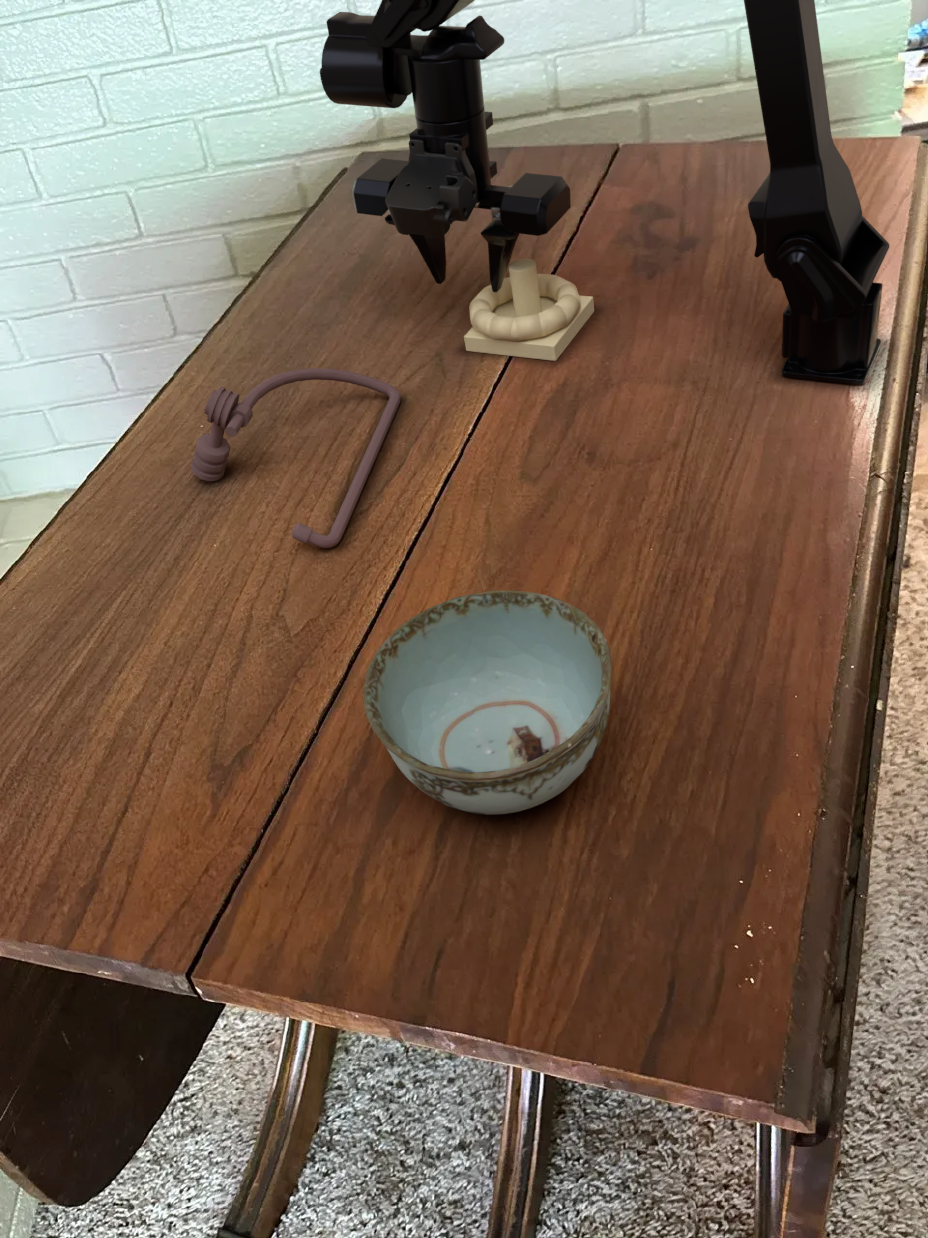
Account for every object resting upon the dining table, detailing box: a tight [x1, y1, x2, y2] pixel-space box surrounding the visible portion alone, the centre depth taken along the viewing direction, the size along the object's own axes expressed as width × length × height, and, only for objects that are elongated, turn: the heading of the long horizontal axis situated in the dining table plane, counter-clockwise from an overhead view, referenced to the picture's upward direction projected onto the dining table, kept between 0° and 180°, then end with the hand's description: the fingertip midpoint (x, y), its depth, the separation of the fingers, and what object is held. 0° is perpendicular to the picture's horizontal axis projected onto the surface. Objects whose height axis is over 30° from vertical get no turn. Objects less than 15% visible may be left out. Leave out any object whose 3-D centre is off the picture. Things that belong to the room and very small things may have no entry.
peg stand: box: [463, 258, 595, 362], centre depth 97 cm, size 9×9×6 cm
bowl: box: [362, 590, 613, 815], centre depth 60 cm, size 14×13×8 cm
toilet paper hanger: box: [190, 367, 402, 549], centre depth 88 cm, size 22×8×14 cm
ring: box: [468, 273, 581, 341], centre depth 98 cm, size 10×10×2 cm
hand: (469, 286), depth 99 cm, fingers open, 5 cm apart
